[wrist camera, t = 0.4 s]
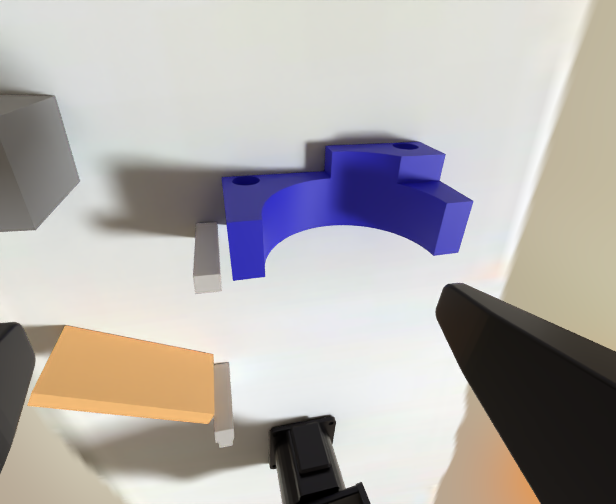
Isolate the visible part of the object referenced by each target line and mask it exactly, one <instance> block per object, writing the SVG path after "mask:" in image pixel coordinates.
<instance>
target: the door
mask: <svg viewBox="0 0 616 504" xmlns="http://www.w3.org/2000/svg"><path fill="white" fill-rule="evenodd" d="M28 406H35V407H45V408H55V409H65V410H75V411H84V412H94V413H104V414H114V415H124V416H134V417H144V418H153V419H163V420H173V421H183V422H193V423H203V424H209V422H210V421H211V419H212V418H213V416H214V414H215V408H214V359H213V354H209V353H203V352H198V351H193V350H188V349H183V348H178V347H173V346H168V345H163V344H158V343H153V342H148V341H142V340H137V339H132V338H127V337H122V336H117V335H112V334H107V333H102V332H97V331H92V330H87V329H81V328H76V327H71V326H66V325H65V327H64V329H63V331H62V333H61V335H60V337H59V339H58V341H57V343H56V345H55V347H54V349H53V351H52V353H51V355H50V357H49V359H48V361H47V363H46V365H45V367H44V369H43V371H42V373H41V375H40V377H39V379H38V381H37V383H36V385H35V387H34V389H33V391H32V393H31V396H30V399H29V402H28Z"/></svg>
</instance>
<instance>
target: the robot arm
mask: <svg viewBox="0 0 616 504" xmlns="http://www.w3.org/2000/svg"><path fill="white" fill-rule="evenodd" d="M436 318H437V321H438V323H439V325H440V327H441V329H442V331H443V333H444V335H445V338H446V340H447V342H448V344H449V346H450V348H451V350H452V352H453V354H454V356H455V359H456V361H457V363H458V365H459V367H460V369H461V371H462V373H463V374H464V376H465V378H466V380H467V381H468V383H469V385H470V386H471V388H472V390H473V391H474V393H475V395H476V396H477V398H478V400H479V401H480V403H481V405H482V406H483V408H484V410H485V411H486V413H487V415H488V416H489V418H490V420H491V422H492V423H493V425H494V427H495V428H496V430H497V432H498V433H499V435H500V437H501V438H502V440H503V442H504V443H505V445H506V447H507V448H508V450H509V451H510V453H511V455H512V457H513V458H514V460H515V462H516V463H517V465H518V467H519V468H520V470H521V472H522V473H523V475H524V476H525V478H526V480H527V482H528V483H529V485H530V487H531V488H532V490H533V491H534V493H535V495H536V497H537V498H538V500H539V502H540V503H541V504H616V352H615V351H613V350H611V349H609V348H606V347H604V346H602V345H600V344H598V343H595V342H593V341H591V340H589V339H586V338H584V337H582V336H580V335H577V334H575V333H573V332H571V331H569V330H566V329H564V328H562V327H559V326H557V325H555V324H553V323H551V322H548V321H546V320H544V319H542V318H539V317H537V316H535V315H533V314H531V313H528V312H526V311H524V310H522V309H519V308H517V307H515V306H513V305H511V304H508V303H506V302H504V301H502V300H499V299H497V298H495V297H493V296H491V295H488V294H486V293H484V292H482V291H479V290H477V289H475V288H473V287H470V286H468V285H466V284H464V283H453V284H447V285H446V286H445V287H444V288H443V290H442V293H441V296H440V299H439V301H438V304H437V307H436ZM34 367H35V353H34V351H33V348H32V346H31V344H30V342H29V339H28V337H27V335H26V333H25V331H24V328H23V327H22V325H20V324H19V323H17V322H8V323H0V473H1V471H2V468H3V466H4V463H5V461H6V458H7V456H8V453H9V451H10V448H11V445H12V442H13V439H14V436H15V433H16V429H17V426H18V422H19V419H20V415H21V412H22V408H23V405H24V402H25V398H26V395H27V391H28V388H29V384H30V381H31V377H32V374H33V370H34ZM335 425H336V420H335V418H334V417H332V416H331V417H326V418H321V419H316V420H311V421H306V422H301V423H296V424H291V425H286V426H281V427H276V428H272V429H271V430H270V432H269V465H270V469H277V473H278V479H279V486H280V492H281V498H282V504H370V501H369V499H368V496H367V494H366V491H365V489H364V486H363V484H362V482H360V483H357V484H356V485H355V486H352V487H349V488H347V489H346V488H345V485H344V482H343V478H342V475H341V472H340V469H339V466H338V462H337V459H336V456H335V453H334V449H333V446H332V443H333V437H334V431H335Z"/></svg>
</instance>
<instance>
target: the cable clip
mask: <svg viewBox="0 0 616 504" xmlns="http://www.w3.org/2000/svg"><path fill="white" fill-rule="evenodd" d="M445 155H446V154H444V153H442V152H440V151H438V150H436V149H433V148H431V147H429V146H427V145H425V144H423V143H421V142H400V143H376V144H352V145H328V146H325V166H324V171H317V172H300V173H283V174H266V175H249V176H232V177H222V187H223V196H224V205H225V214H226V223H227V232H228V241H229V250H230V258H231V267H232V276H233V281H235V280H243V279H251V278H259V277H265V261H266V259H267V256H268V254H269V253H270V251H271V250H272V249H273V248H274V247H275V246H276V245H277V244H278V243H279V242H281V241H282V240H284V239H285V238H287V237H289V236H291V235H293V234H295V233H298V232H301V231H304V230H307V229H311V228H316V227H322V226H331V225H354V226H364V227H371V228H376V229H380V230H384V231H388V232H391V233H395V234H397V235H400V236H403V237H405V238H407V239H409V240H411V241H413V242H415V243H417V244H419V245H420V246H422V247H423V248H425V249H426V250H428V251H429V252H430V253H431V254H432V255H433V256H435V255H443V254H451V253H458V252H459V248H460V245H461V241H462V238H463V235H464V231H465V228H466V224H467V221H468V218H469V214H470V211H471V208H472V204H473V201H472V200H471V199H469V198H467V197H466V196H464V195H462V194H461V193H459V192H457V191H456V190H454V189H452V188H451V187H449V186H447V185H446V184H444V183H442V182H441V181H439V180H440V176H441V172H442V168H443V163H444V159H445Z"/></svg>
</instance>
